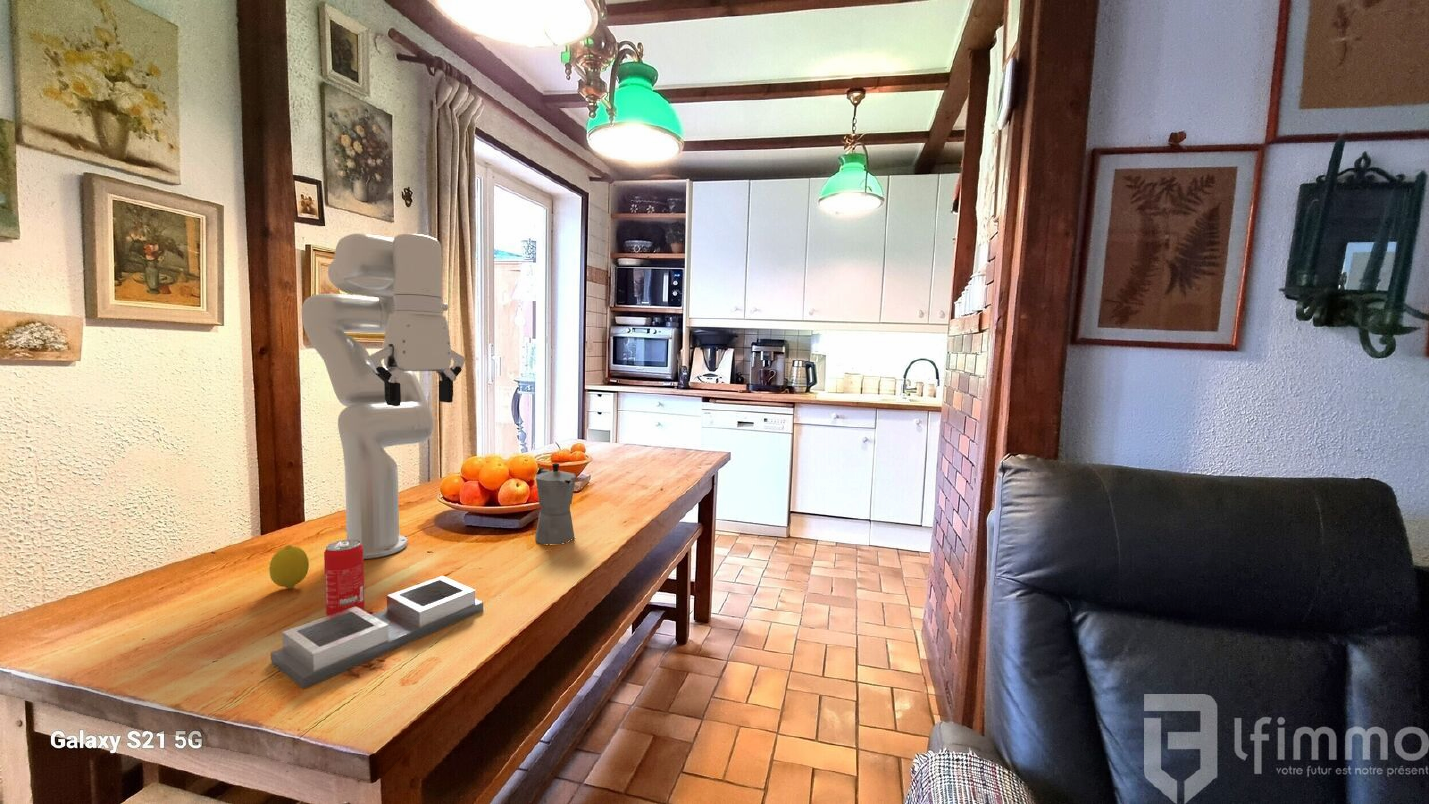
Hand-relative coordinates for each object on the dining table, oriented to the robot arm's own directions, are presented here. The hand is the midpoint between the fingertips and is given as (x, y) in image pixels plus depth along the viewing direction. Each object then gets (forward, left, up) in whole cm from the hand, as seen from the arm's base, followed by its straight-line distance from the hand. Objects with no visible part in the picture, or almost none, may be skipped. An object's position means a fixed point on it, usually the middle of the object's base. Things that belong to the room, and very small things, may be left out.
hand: (420, 403), depth 97 cm
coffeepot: (-1, +32, -34) cm, 46 cm away
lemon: (-17, -14, -34) cm, 41 cm away
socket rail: (+12, -12, -34) cm, 38 cm away
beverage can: (+1, -13, -34) cm, 37 cm away
